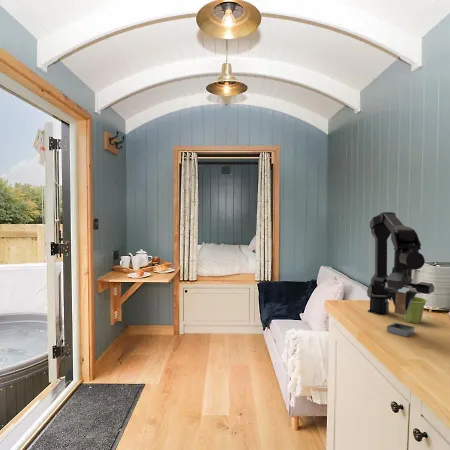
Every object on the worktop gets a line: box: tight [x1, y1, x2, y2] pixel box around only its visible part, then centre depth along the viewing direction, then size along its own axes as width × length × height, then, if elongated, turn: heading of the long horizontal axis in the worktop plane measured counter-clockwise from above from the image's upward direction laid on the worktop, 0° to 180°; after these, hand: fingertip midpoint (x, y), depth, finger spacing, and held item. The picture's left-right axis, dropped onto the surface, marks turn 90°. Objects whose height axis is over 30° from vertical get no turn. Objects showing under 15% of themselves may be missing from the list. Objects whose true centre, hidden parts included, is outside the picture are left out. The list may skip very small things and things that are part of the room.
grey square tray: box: [386, 321, 415, 338], centre depth 126 cm, size 7×7×2 cm
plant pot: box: [402, 296, 428, 324], centre depth 139 cm, size 9×9×9 cm
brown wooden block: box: [393, 291, 408, 316], centre depth 126 cm, size 3×3×7 cm
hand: (401, 308), depth 126 cm, fingers closed on brown wooden block, 3 cm apart
